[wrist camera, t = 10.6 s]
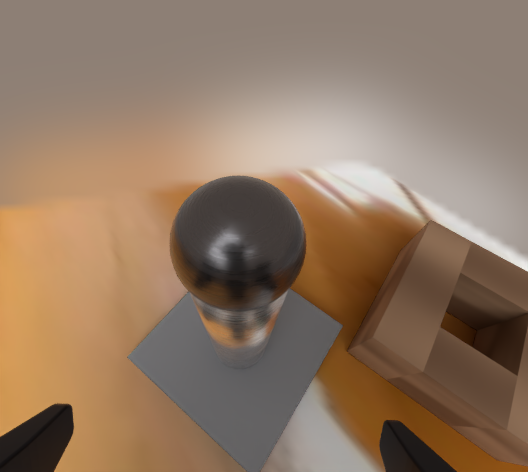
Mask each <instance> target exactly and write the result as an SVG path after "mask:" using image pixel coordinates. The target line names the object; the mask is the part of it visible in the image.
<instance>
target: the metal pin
mask: <svg viewBox="0 0 528 472" xmlns="http://www.w3.org/2000/svg"><path fill="white" fill-rule="evenodd" d="M305 254H306V234H305V229H304V225H303V222H302V219H301V217H300V214H299V213H298V211H297V209H296V207H295V206H294V204H293V203H292V202H291V200H290V199H289V198H288V197H287V196H286V195H285V194H284V193H283V192H282V191H280V190H279V189H278V188H276V187H275V186H273V185H272V184H269V183H267V182H265V181H263V180H260V179H257V178H253V177H248V176H229V177H223V178H219V179H216V180H214V181H211V182H209V183H207V184H205V185H203V186H201V187H200V188H198V189H197V190H196V191H194V192H193V193H192V194H191V195H190V196H189V197H188V198H187V199H186V200H185V202H184V203H183V204H182V206H181V207H180V209H179V211H178V213H177V214H176V216H175V219H174V221H173V225H172V229H171V233H170V255H171V259H172V263H173V266H174V269H175V271H176V274H177V276H178V277H179V279H180V281H181V282H182V284H183V285H184V286H185V287H186V289H187V290H188V291H189V292H190V294H191V296H192V299H193V301H194V303H195V305H196V308H197V310H198V312H199V314H200V317H201V319H202V321H203V324H204V326H205V328H206V330H207V333H208V335H209V337H210V339H211V342H212V344H213V346H214V349H215V351H216V353H217V355H218V357H219V359H220V360H221V361H222V362H223V363H224V364H225V365H227V366H228V367H230V368H234V369H245V368H249V367H251V366H253V365H254V364H255V363H257V362H258V361H259V360H260V358H261V357H262V355H263V353H264V351H265V348H266V345H267V343H268V340H269V338H270V335H271V333H272V330H273V328H274V325H275V323H276V320H277V317H278V315H279V312H280V310H281V307H282V305H283V302H284V300H285V297H286V295H287V292H288V289H289V288H290V287H291V286H292V284H293V283H294V282H295V280H296V278H297V277H298V275H299V273H300V271H301V268H302V266H303V262H304V258H305Z"/></svg>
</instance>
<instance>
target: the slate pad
mask: <svg viewBox="0 0 528 472" xmlns="http://www.w3.org/2000/svg"><path fill="white" fill-rule="evenodd" d="M342 327H343V325H342V324H340V323H339V322H337V321H336V320H334V319H333V318H332V317H330V316H329V315H327V314H326V313H324V312H323V311H322V310H320V309H319V308H317V307H316V306H314V305H313V304H312V303H310V302H309V301H307V300H306V299H304V298H303V297H302V296H300V295H299V294H297V293H296V292H294V291H293V290H292V289H290V288H289V289H288V292H287V295H286V297H285V300H284V302H283V305H282V307H281V310H280V312H279V315H278V317H277V320H276V323H275V325H274V328H273V330H272V333H271V335H270V338H269V340H268V343H267V345H266V348H265V351H264V353H263V355H262V357H261V358H260V360H259V361H258V362H257V363H255V364H254V365H253V366H251V367H249V368H245V369H234V368H230V367H228V366H227V365H225V364H224V363H223V362H222V361H221V360H220V359H219V357H218V355H217V353H216V351H215V349H214V346H213V344H212V342H211V339H210V337H209V335H208V333H207V330H206V328H205V326H204V324H203V321H202V319H201V317H200V314H199V312H198V310H197V308H196V305H195V303H194V301H193V299H192V296H191V294H190V292H188V293H187V294H186V295H185V296H184V297H183V298H182V299H181V300H180V301H179V303H178V304H177V305H176V306H175V307H174V308H173V309H172V310H171V311H170V312H169V313H168V314H167V315H166V316H165V317H164V318H163V320H162V321H161V322H160V323H159V324H158V325H157V326H156V327H155V328H154V329H153V330H152V331H151V332H150V333H149V334H148V336H147V337H146V338H145V339H144V340H143V341H142V342H141V343H140V344H139V345H138V346H137V347H136V348H135V349H134V350H133V351H132V353H131V354H130V355H129V356H128V357H127V358H128V359H130V360H131V361H132V362H133V363H134V364H135V365H136V366H137V367H138V368H139V369H140V370H141V371H142V372H143V373H144V374H145V375H146V376H147V377H148V378H149V379H150V380H152V381H153V382H154V383H155V384H156V385H157V386H158V387H159V388H160V389H161V390H162V391H163V392H164V393H165V394H166V395H167V396H168V397H169V398H170V399H171V400H173V401H174V402H175V403H176V404H177V405H178V406H179V407H180V408H181V409H182V410H183V411H184V412H185V413H186V414H187V415H188V416H189V417H190V418H191V419H192V420H194V421H195V422H196V423H197V424H198V425H199V426H200V427H201V428H202V429H203V430H204V431H205V432H206V433H207V434H208V435H209V436H210V437H211V438H212V439H213V440H214V441H216V442H217V443H218V444H219V445H220V446H221V447H222V448H223V449H224V450H225V451H226V452H227V453H228V454H229V455H230V456H231V457H232V458H233V459H234V460H235V461H237V462H238V463H239V464H240V465H241V466H242V467H243V468H244V469H245V470H246V471H247V472H260V471H261V469H262V467H263V465H264V464H265V462H266V460H267V458H268V457H269V455H270V453H271V451H272V450H273V448H274V446H275V444H276V443H277V441H278V439H279V437H280V436H281V434H282V432H283V430H284V429H285V427H286V425H287V423H288V422H289V420H290V418H291V416H292V415H293V413H294V411H295V409H296V407H297V406H298V404H299V402H300V400H301V399H302V397H303V395H304V393H305V392H306V390H307V388H308V386H309V385H310V383H311V381H312V379H313V378H314V376H315V374H316V372H317V371H318V369H319V367H320V365H321V364H322V362H323V360H324V358H325V356H326V355H327V353H328V351H329V349H330V348H331V346H332V344H333V342H334V341H335V339H336V337H337V335H338V334H339V332H340V330H341V328H342Z"/></svg>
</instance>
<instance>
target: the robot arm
mask: <svg viewBox="0 0 528 472" xmlns="http://www.w3.org/2000/svg"><path fill="white" fill-rule="evenodd" d="M73 430H74V423H73V412H72V406H71V405H70V404H58V403H57V404H54V405H52V406H50V407H48V408H47V409H45V410H43V411H42V412H40V413H39V414H37V415H35V416H34V417H32V418H30V419H29V420H27V421H26V422H24V423H22V424H21V425H19V426H17V427H16V428H14V429H13V430H11V431H9V432H8V433H6V434H4V435H3V436H1V437H0V472H54V470H55V468H56V466H57V464H58V462H59V460H60V459H61V457H62V455H63V453H64V451H65V449H66V447H67V445H68V443H69V441H70V439H71V437H72V434H73ZM380 452H381V456H382V459H383V463H384V466H385V470H386V472H457V471H455V470H454V469H453V468H452V467H451V466H450V465H449V464H448V463H446V462H445V461H444V460H443V459H442V458H441V457H440V456H439V455H437V454H436V453H435V452H434V451H433V450H432V449H431V448H430V447H428V446H427V445H426V444H425V443H424V442H423V441H422V440H421V439H419V438H418V437H417V436H416V435H415V434H414V433H413V432H412V431H410V430H409V429H408V428H407V427H406V426H405V425H404V424H403V423H401V422H400V421H397V420H386V421H385V422H384V424H383V428H382V433H381V438H380Z"/></svg>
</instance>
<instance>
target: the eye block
mask: <svg viewBox="0 0 528 472" xmlns="http://www.w3.org/2000/svg"><path fill="white" fill-rule="evenodd" d="M446 311H447V312H448V313H450V314H451V315H453V316H455V317H456V318H458V319H460V320H461V321H463V322H464V323H466V324H468V325H469V326H471V327H472V328H474V329H476V330H477V333H476V337H475V340H474V343H473V347H471V346H469V345H468V344H466V343H465V342H463V341H462V340H460V339H458V338H457V337H455V336H454V335H452V334H451V333H449V332H447V331H446V330H444V329H443V328H441V327H440V325H441V323H442V320H443V317H444V315H445V312H446ZM347 352H348V353H350V354H351V355H353V356H354V357H355V358H357V359H358V360H360V361H361V362H362V363H364V364H365V365H366V366H368V367H369V368H371V369H372V370H373V371H375V372H376V373H377V374H379V375H380V376H382V377H383V378H384V379H386V380H387V381H388V382H390V383H391V384H393V385H394V386H395V387H397V388H398V389H400V390H401V391H402V392H404V393H405V394H406V395H408V396H409V397H411V398H412V399H413V400H415V401H416V402H417V403H419V404H420V405H422V406H423V407H424V408H426V409H427V410H428V411H430V412H431V413H433V414H434V415H435V416H437V417H438V418H440V419H441V420H442V421H444V422H445V423H446V424H448V425H449V426H451V427H452V428H453V429H455V430H456V431H457V432H459V433H460V434H462V435H463V436H464V437H466V438H467V439H469V440H470V441H471V442H473V443H474V444H475V445H477V446H478V447H480V448H481V449H482V450H484V451H485V452H486V453H488V454H489V455H491V456H492V457H493V458H495V459H496V460H498V461H503V462H508V463H513V464H518V465H523V466H528V272H527V271H525V270H523V269H521V268H520V267H518V266H516V265H514V264H512V263H510V262H508V261H506V260H505V259H503V258H501V257H499V256H497V255H495V254H493V253H492V252H490V251H488V250H486V249H484V248H482V247H480V246H479V245H477V244H475V243H473V242H471V241H469V240H467V239H466V238H464V237H462V236H460V235H458V234H456V233H454V232H453V231H451V230H449V229H447V228H445V227H443V226H441V225H439V224H438V223H436V222H434V221H432V220H431V221H430V222H429V223H428V224H427V225H426V226H425V227H424V228H423V229H422V230H421V231H420V232H419V233H418V234H417V235H416V236H415V237H414V238H413V239H412V240H411V241H410V242H409V243H408V244H407V245H406V246H405V247H404V248H403V249H402V250H401V251H400V253H399V255H398V257H397V258H396V260H395V262H394V264H393V266H392V268H391V270H390V272H389V273H388V275H387V277H386V279H385V281H384V283H383V285H382V287H381V288H380V290H379V292H378V294H377V296H376V298H375V300H374V302H373V303H372V305H371V307H370V309H369V311H368V313H367V315H366V316H365V318H364V320H363V322H362V324H361V326H360V328H359V330H358V331H357V333H356V335H355V337H354V339H353V341H352V343H351V345H350V346H349V348H348V350H347Z"/></svg>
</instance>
